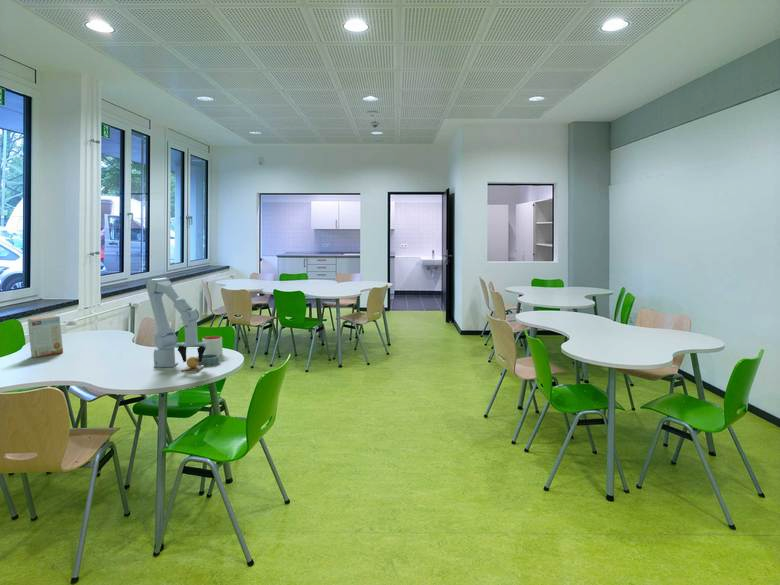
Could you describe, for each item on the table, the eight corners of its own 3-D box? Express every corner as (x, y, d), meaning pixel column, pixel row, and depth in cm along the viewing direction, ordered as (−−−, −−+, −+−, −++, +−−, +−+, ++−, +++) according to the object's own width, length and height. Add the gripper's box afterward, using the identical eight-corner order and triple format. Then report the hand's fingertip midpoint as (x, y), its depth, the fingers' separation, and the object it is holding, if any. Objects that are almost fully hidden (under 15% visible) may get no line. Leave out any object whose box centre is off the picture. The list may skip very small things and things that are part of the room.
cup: (216, 358, 282) (215, 340, 280) (199, 357, 284) (198, 339, 282) (226, 354, 291) (225, 336, 290) (209, 353, 293) (208, 335, 292)
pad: (181, 371, 256) (181, 370, 256) (188, 367, 264) (188, 365, 264) (198, 371, 256) (197, 370, 256) (204, 367, 264) (204, 365, 263)
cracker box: (58, 351, 300) (55, 315, 297) (63, 353, 296) (60, 316, 294) (30, 356, 288) (27, 318, 286) (35, 358, 285) (32, 319, 282)
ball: (185, 369, 257) (184, 358, 256) (189, 366, 262) (188, 355, 262) (196, 369, 257) (195, 358, 256) (200, 366, 262) (200, 355, 262)
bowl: (193, 365, 266) (193, 359, 266) (201, 360, 277) (201, 354, 276) (214, 365, 266) (214, 359, 266) (221, 360, 277) (221, 354, 276)
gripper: (172, 335, 254) (174, 363, 255) (202, 335, 253) (204, 363, 255) (178, 333, 261) (180, 360, 262) (208, 332, 260) (209, 359, 262)
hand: (192, 361), depth 259 cm, fingers open, 7 cm apart
